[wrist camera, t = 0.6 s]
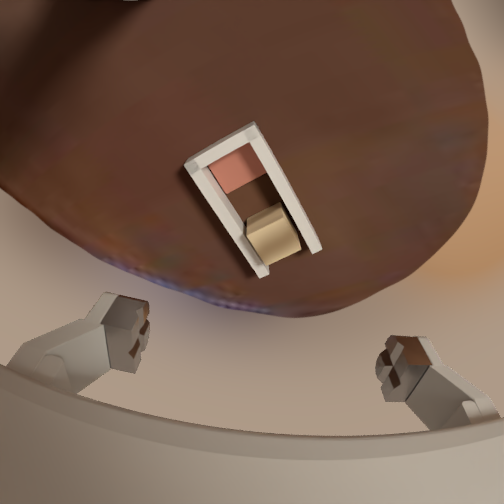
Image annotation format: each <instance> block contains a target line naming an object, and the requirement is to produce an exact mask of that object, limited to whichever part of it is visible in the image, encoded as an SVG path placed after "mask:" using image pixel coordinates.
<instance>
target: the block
mask: <svg viewBox="0 0 504 504" xmlns="http://www.w3.org/2000/svg"><path fill="white" fill-rule="evenodd" d="M247 237H248V239H249V240H250V242H251V243H252V245H253V247H254V248H255V250H256V251H257V253H258V254H259V256H260V257H261V259H262V260H263V262H264V264H265V265H266V266H267V265H269V264H272V263H274V262H276V261H278V260H280V259H282V258H284V257H286V256H289V255H291V254H293V253H295V252H297V251H299V250H301V246H300V242H299V238H298V234H297V231H296V229H295V227H294V226H293V224H292V222H291V220H290V218H289V217H288V215H287V213H286V211H285V209H284V208H283V206H282V204H281V202H279V203H277V204H275V205H273V206H271V207H269V208H267V209H265V210H263V211H261V212H259V213H257V214H255V215H253V216H251V217H249V218H247Z"/></svg>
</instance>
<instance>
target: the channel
mask: <svg viewBox="0 0 504 504" xmlns="http://www.w3.org/2000/svg"><path fill="white" fill-rule="evenodd" d="M207 165H208V166H209V168H210V170H211V171H212V173H213V174H214V176H215V177H216V179H217V180H218V182H219V184H220V185H221V187H222V188H223V190H224V191H225V193H226V194H227V193H229V192H231V191H233V190H235V189H237V188H238V187H240V186H242V185H244V184H246V183H248V182H250V181H252V180H253V179H255V178H257V177H259V176H261V175H263V174H265V173H268V175H269V177H270V178H271V180H272V182H273V184H274V185H275V187H276V189H277V191H278V192H279V194H280V196H281V198H282V199H283V201H284V203H285V205H286V207H287V208H288V210H289V212H290V214H291V216H292V217H293V219H294V221H295V223H296V225H297V227H298V228H299V230H300V232H301V234H302V236H303V238H304V239H305V241H306V243H307V245H308V247H309V249H310V251H311V252H312V254H314V253H316V252H318V251H320V250H322V247H321V244H320V241H319V238H318V236H317V234H316V232H315V231H314V229H313V227H312V225H311V223H310V221H309V219H308V217H307V215H306V213H305V211H304V209H303V207H302V206H301V204H300V202H299V200H298V198H297V196H296V194H295V192H294V191H293V189H292V187H291V185H290V183H289V181H288V180H287V178H286V176H285V174H284V172H283V170H282V169H281V167H280V165H279V163H278V161H277V160H276V158H275V156H274V154H273V153H272V151H271V149H270V147H269V146H268V144H267V142H266V140H265V139H264V137H263V135H262V133H261V132H260V130H259V128H258V127H257V125H256V123H255V121H253V122H251V123H249V124H248V125H246V126H244V127H242V128H240V129H238V130H237V131H235V132H233V133H231V134H229V135H228V136H226V137H224V138H222V139H221V140H219V141H217V142H215V143H214V144H212V145H210V146H208V147H207V148H205V149H203V150H202V151H200V152H198V153H197V154H195V155H193V156H192V157H190V158H188V160H187V161H186V162H185V164H184V167H185V168H186V170H187V171H188V173H189V174H190V176H191V177H192V179H193V180H194V182H195V183H196V185H197V186H198V188H199V189H200V191H201V192H202V194H203V195H204V197H205V198H206V200H207V201H208V203H209V204H210V206H211V207H212V208H213V210H214V211H215V213H216V214H217V216H218V217H219V219H220V220H221V222H222V223H223V225H224V226H225V228H226V229H227V231H228V232H229V234H230V235H231V237H232V238H233V240H234V241H235V243H236V244H237V246H238V247H239V249H240V250H241V252H242V253H243V255H244V256H245V258H246V259H247V260H248V262H249V263H250V265H251V266H252V268H253V269H254V271H255V272H256V274H257V275H258V277H259V278H262V277H264V276H266V275H268V274H269V265H267V266H266V265H265V264H264V262H263V260H262V259H261V257H260V256H259V254H258V253H257V251H256V250H255V248H254V247H253V245H252V243H251V242H250V240H249V239H248V237H247V228H246V226H245V225H244V223H243V222H242V220H241V219H240V217H239V215H238V214H237V212H236V211H235V209H234V208H233V206H232V205H231V203H230V201H229V200H228V198H227V197H226V195H225V194H224V192H223V191H222V189H221V187H220V186H219V184H218V183H217V181H216V180H215V178H214V177H213V175H212V174H211V172H210V170H209V169H208V167H207Z"/></svg>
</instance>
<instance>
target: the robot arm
mask: <svg viewBox="0 0 504 504" xmlns="http://www.w3.org/2000/svg"><path fill="white" fill-rule="evenodd" d="M125 1H136V0H125ZM148 314H149V303H148V301H145V300H140V299H135V298H131V297H127V296H123V295H118V294H114V293H109V292H105V293H103V294H102V295H101V297H100V298H99V300H98V301H97V302H96V304H95V305H94V307H93V308H92V309H91V311H90V312H89V314H88V315H87V317H86V318H85V319H84V320H83V319H79V320H76V321H74V322H72V323H69V324H67V325H65V326H62V327H60V328H58V329H55V330H53V331H51V332H48V333H46V334H44V335H41V336H39V337H37V338H34V339H32V340H30V341H27V342H25V343H23V344H22V346H21V347H20V348H19V349H18V351H17V352H16V353H15V355H14V356H13V357H12V359H11V360H10V362H9V363H8V364H7V366H3V365H1V364H0V504H504V417H503V418H501V417H500V415H499V413H498V411H497V410H496V408H495V406H494V404H493V402H492V401H491V399H490V397H489V396H487V395H486V394H485V393H483V392H482V391H480V390H479V389H478V388H477V387H475V386H474V385H473V384H471V383H470V382H469V381H467V380H466V379H465V378H463V377H462V376H461V375H459V374H458V373H456V372H455V371H454V370H452V369H451V368H450V367H448V366H444V365H443V363H442V361H441V359H440V358H439V356H438V354H437V352H436V350H435V349H434V347H433V345H432V343H431V342H430V340H429V339H428V338H427V337H421V336H415V337H410V336H395V335H391V336H390V337H389V338H388V339H387V341H386V343H385V346H386V349H385V350H384V351H383V352H381V353H380V354H379V357H378V359H377V361H376V367H375V369H376V375H377V378H378V379H379V380H380V381H381V382H382V383H383V384H382V386H381V390H382V393H383V396H384V399H385V401H386V402H405V403H406V404H407V405H408V406H409V408H410V409H411V410H412V411H413V412H414V413H415V414H416V415H417V416H418V417H419V418H420V420H421V421H422V422H423V423H424V424H425V425H426V426H427V427H428V428H429V429H430V430H429V431H420V432H411V433H399V434H386V435H363V436H311V435H310V436H309V435H289V434H274V433H262V432H252V431H243V430H234V429H226V428H219V427H212V426H206V425H200V424H194V423H188V422H182V421H177V420H172V419H167V418H163V417H158V416H153V415H149V414H145V413H140V412H136V411H132V410H129V409H125V408H121V407H117V406H113V405H110V404H107V403H103V402H100V401H96V400H93V399H90V398H87V397H84V396H81V395H77V393H78V392H80V391H81V390H83V389H84V388H85V387H87V386H88V385H90V384H91V383H92V382H94V381H95V380H97V379H98V378H99V377H101V376H102V375H104V373H106V372H108V371H109V370H110V368H112V369H116V370H120V371H125V372H130V373H134V374H135V373H136V371H137V368H138V366H139V363H140V361H141V352H142V351H144V350H145V348H146V346H147V342H148V338H149V330H150V324H149V321H148V320H147V319H146V318H147V316H148Z"/></svg>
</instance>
